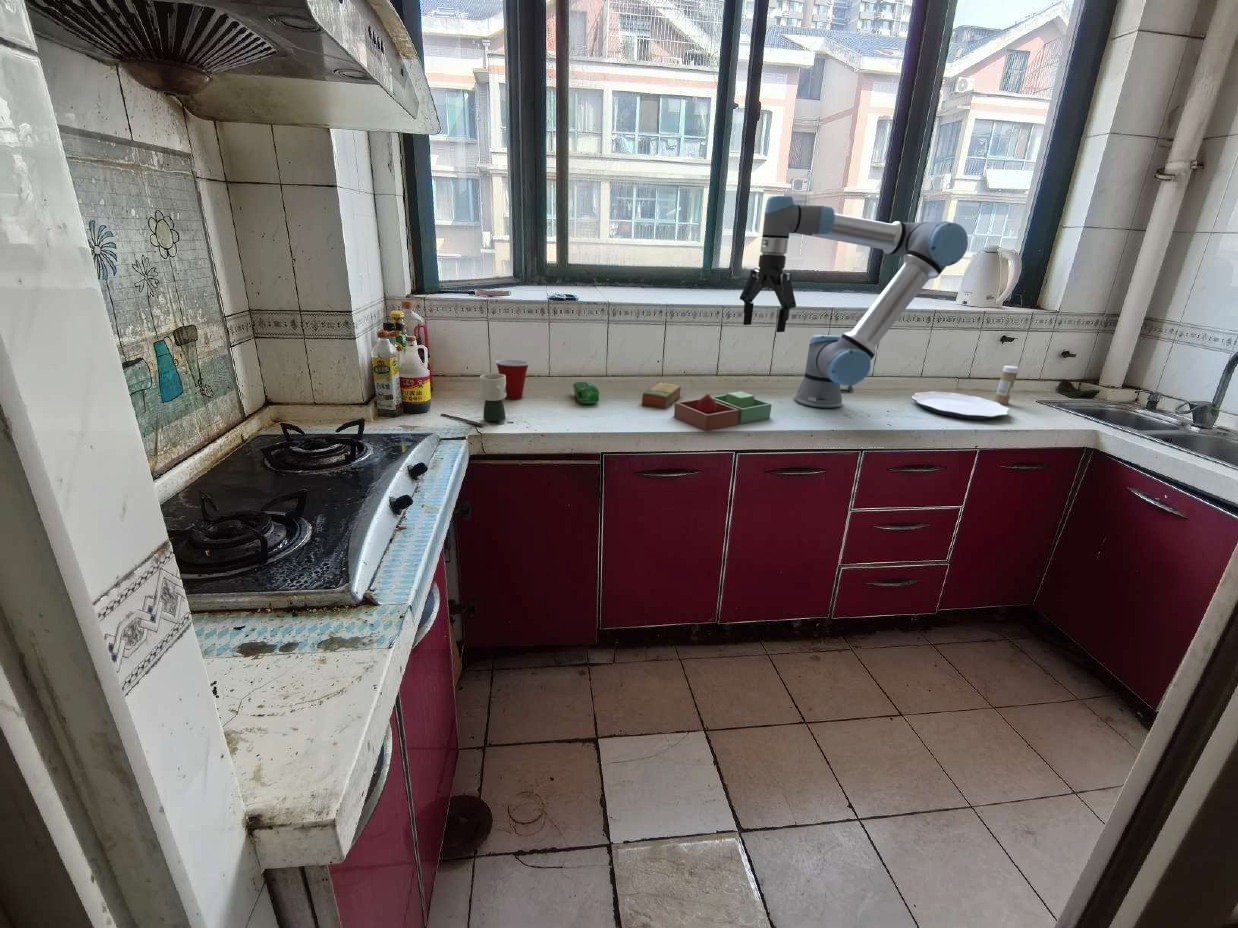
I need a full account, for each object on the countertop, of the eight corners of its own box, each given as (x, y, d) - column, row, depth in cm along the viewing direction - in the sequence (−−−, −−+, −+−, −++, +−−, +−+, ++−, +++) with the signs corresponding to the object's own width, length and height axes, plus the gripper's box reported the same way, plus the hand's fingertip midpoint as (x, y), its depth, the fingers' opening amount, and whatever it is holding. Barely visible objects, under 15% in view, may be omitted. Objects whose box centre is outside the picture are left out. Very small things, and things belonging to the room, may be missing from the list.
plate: (967, 426, 185) (969, 419, 184) (892, 401, 210) (894, 394, 209) (1027, 418, 197) (1029, 411, 196) (949, 395, 221) (951, 389, 221)
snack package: (592, 393, 202) (592, 378, 200) (600, 406, 188) (601, 390, 186) (572, 393, 201) (572, 378, 199) (578, 406, 187) (578, 390, 185)
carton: (680, 397, 203) (681, 385, 201) (665, 409, 189) (666, 396, 187) (657, 393, 205) (658, 381, 204) (641, 405, 191) (642, 392, 190)
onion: (714, 422, 176) (717, 396, 173) (695, 420, 177) (697, 394, 174) (715, 417, 181) (718, 391, 178) (696, 415, 182) (699, 389, 179)
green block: (738, 409, 190) (740, 391, 188) (752, 414, 185) (754, 395, 183) (724, 411, 187) (726, 393, 184) (738, 416, 182) (740, 398, 180)
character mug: (513, 424, 168) (512, 379, 163) (489, 427, 165) (487, 381, 160) (499, 413, 177) (498, 370, 172) (476, 416, 173) (474, 372, 168)
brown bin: (704, 411, 188) (706, 397, 186) (737, 424, 177) (739, 409, 175) (673, 416, 181) (674, 402, 179) (705, 430, 170) (707, 415, 168)
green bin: (736, 406, 195) (738, 392, 194) (769, 418, 184) (771, 404, 182) (708, 411, 189) (709, 397, 187) (740, 424, 178) (742, 409, 176)
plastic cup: (534, 394, 198) (534, 359, 193) (522, 403, 188) (522, 365, 183) (504, 391, 200) (503, 356, 195) (491, 399, 190) (489, 362, 185)
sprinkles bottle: (1011, 404, 212) (1022, 368, 207) (1000, 405, 211) (1011, 368, 206) (1000, 401, 216) (1011, 365, 211) (990, 401, 215) (1001, 365, 210)
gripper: (733, 251, 179) (725, 322, 187) (798, 257, 160) (786, 335, 168) (750, 251, 183) (742, 321, 191) (816, 257, 164) (804, 334, 172)
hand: (763, 328), depth 180 cm, fingers open, 13 cm apart
